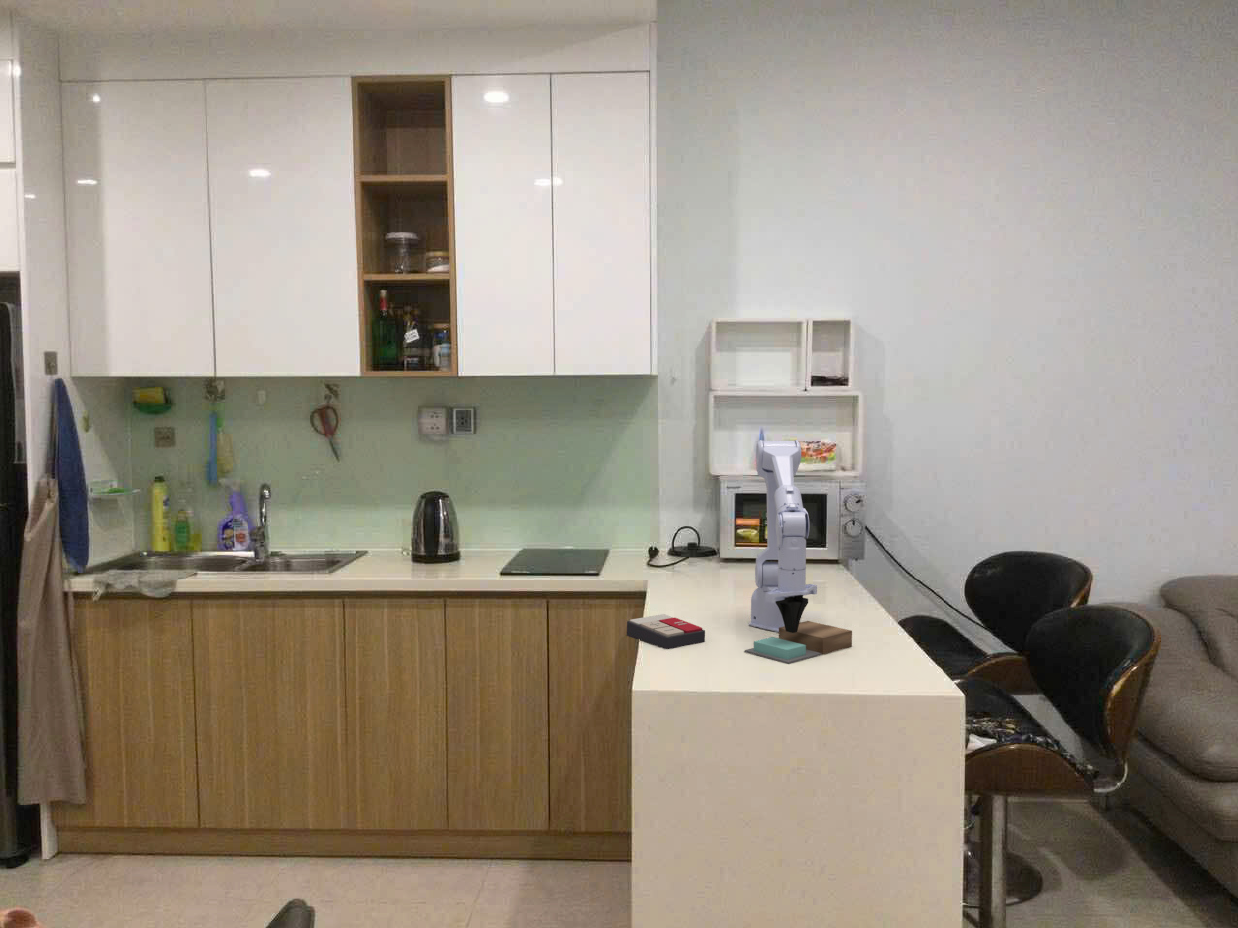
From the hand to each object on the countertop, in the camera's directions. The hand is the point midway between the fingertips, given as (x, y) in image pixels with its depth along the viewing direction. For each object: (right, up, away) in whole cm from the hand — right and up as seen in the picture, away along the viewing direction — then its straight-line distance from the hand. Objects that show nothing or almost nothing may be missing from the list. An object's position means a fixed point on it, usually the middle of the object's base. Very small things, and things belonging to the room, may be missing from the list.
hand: (791, 631), depth 194 cm
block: (-3, -3, -2) cm, 5 cm away
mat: (-2, -4, -1) cm, 5 cm away
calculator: (-26, -4, +11) cm, 29 cm away
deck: (+6, -4, +5) cm, 9 cm away
